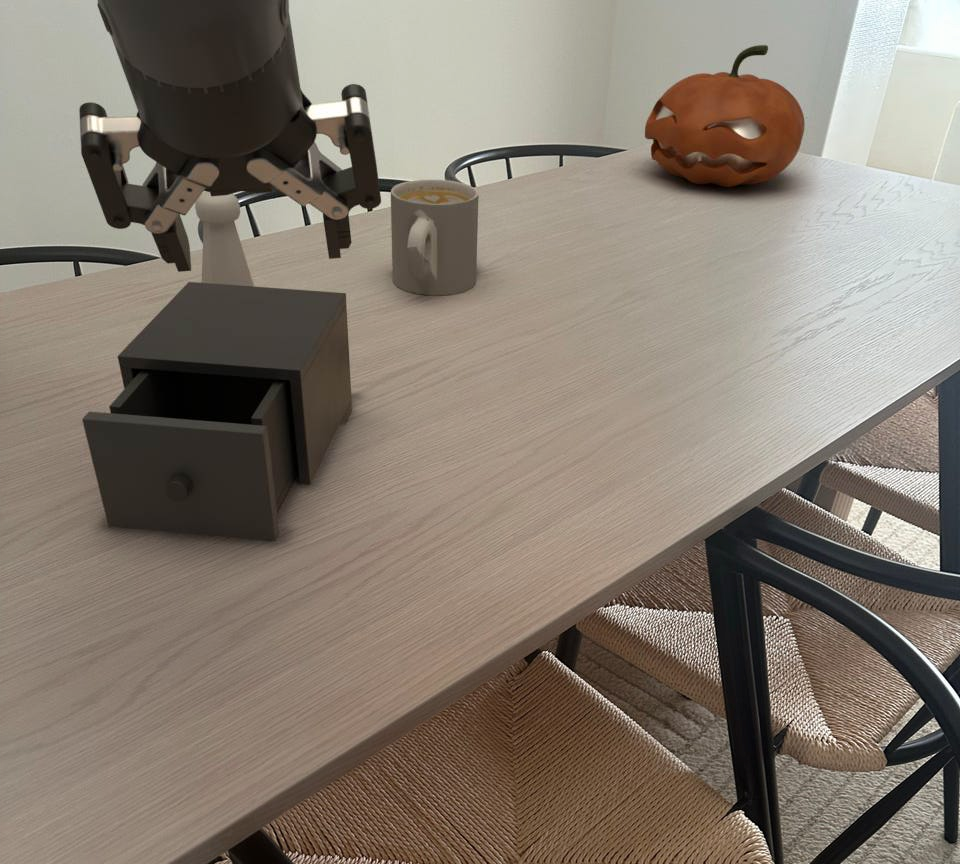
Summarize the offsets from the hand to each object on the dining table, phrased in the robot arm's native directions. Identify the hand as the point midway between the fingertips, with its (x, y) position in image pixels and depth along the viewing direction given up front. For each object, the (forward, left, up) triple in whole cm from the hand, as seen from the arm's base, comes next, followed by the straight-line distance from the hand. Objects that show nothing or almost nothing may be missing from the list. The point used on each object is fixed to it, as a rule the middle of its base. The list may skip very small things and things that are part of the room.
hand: (259, 251), depth 57 cm
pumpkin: (+39, +115, -23) cm, 123 cm away
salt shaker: (-18, +44, -23) cm, 53 cm away
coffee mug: (+1, +59, -23) cm, 63 cm away
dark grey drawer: (-8, +9, -22) cm, 25 cm away
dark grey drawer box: (-8, +18, -23) cm, 30 cm away
